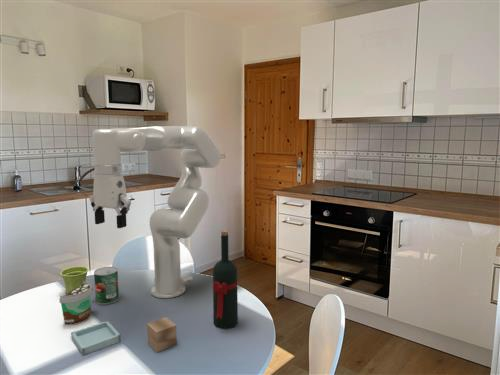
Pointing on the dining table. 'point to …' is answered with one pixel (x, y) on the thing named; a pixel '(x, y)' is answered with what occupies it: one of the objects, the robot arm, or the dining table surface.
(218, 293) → the wine bottle
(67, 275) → the plant pot
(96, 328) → the tray
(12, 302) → the dining table surface
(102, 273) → the canned tomato
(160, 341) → the cube
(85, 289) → the food container
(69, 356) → the dining table surface
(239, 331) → the dining table surface
